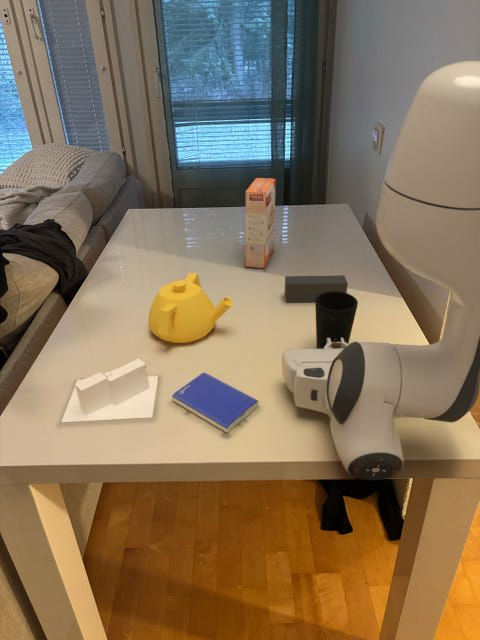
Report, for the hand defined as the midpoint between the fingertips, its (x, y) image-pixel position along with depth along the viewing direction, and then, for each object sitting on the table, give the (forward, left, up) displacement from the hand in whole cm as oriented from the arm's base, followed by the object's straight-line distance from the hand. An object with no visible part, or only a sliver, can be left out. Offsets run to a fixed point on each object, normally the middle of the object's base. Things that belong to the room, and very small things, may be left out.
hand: (334, 340), depth 85 cm
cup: (-1, -4, -6) cm, 7 cm away
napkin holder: (+40, +8, -6) cm, 41 cm away
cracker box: (+12, -51, -6) cm, 52 cm away
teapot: (+28, -14, -6) cm, 31 cm away
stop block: (0, -27, -6) cm, 27 cm away
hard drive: (+22, +10, -6) cm, 25 cm away
